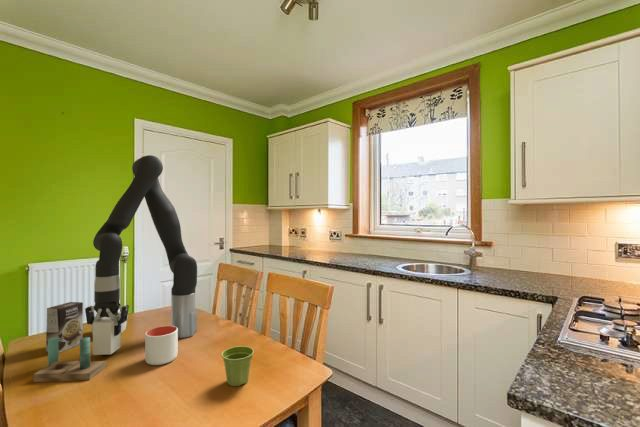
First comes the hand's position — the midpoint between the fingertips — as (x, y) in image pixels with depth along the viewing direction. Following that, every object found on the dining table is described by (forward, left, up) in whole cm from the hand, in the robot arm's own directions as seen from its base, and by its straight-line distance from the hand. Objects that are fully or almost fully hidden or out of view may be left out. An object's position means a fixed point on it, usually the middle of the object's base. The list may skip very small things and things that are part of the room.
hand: (107, 335), depth 110 cm
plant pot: (-50, +21, -7) cm, 55 cm away
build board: (+7, +13, -7) cm, 16 cm away
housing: (0, 0, -6) cm, 6 cm away
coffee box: (+20, -8, -7) cm, 23 cm away
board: (-1, +13, -7) cm, 15 cm away
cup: (-21, +5, -7) cm, 23 cm away
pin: (+13, +7, -7) cm, 16 cm away
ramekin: (+12, -22, -7) cm, 26 cm away
